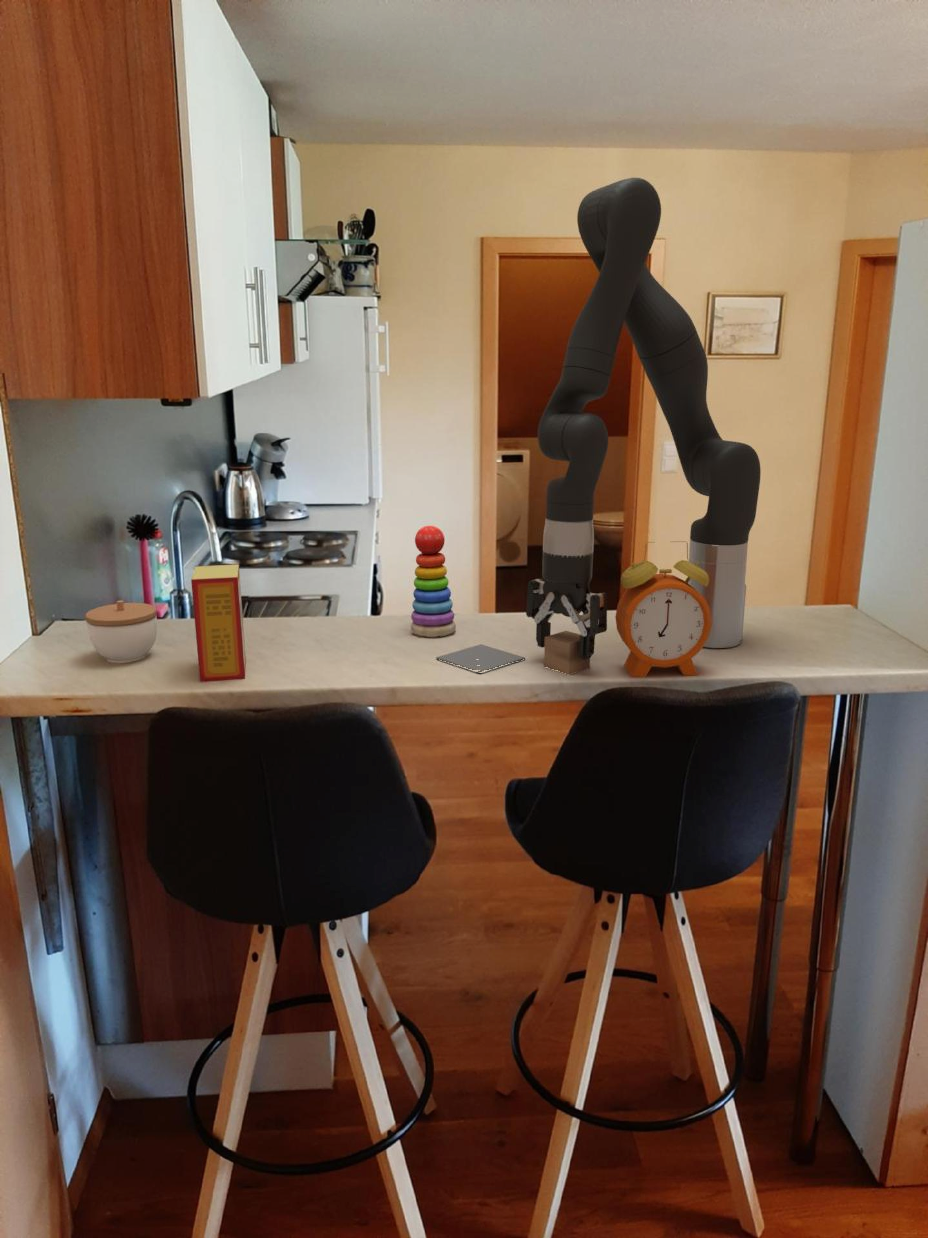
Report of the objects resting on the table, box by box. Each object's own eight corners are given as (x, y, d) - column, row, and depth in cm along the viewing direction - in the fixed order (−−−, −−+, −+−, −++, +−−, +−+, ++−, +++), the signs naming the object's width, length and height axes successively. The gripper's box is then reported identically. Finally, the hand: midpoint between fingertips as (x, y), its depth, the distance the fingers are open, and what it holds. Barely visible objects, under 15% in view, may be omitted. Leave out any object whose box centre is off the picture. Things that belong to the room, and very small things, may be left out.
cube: (565, 660, 148) (565, 630, 147) (589, 668, 145) (590, 637, 143) (544, 667, 145) (544, 637, 143) (568, 675, 141) (569, 644, 140)
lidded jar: (111, 672, 144) (104, 613, 141) (78, 658, 151) (71, 602, 148) (173, 656, 151) (168, 600, 149) (139, 643, 158) (134, 589, 156)
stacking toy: (458, 626, 167) (457, 522, 162) (453, 639, 160) (452, 530, 154) (414, 625, 168) (412, 521, 163) (407, 638, 160) (404, 530, 155)
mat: (481, 646, 155) (481, 644, 155) (525, 659, 148) (525, 657, 148) (436, 659, 149) (436, 657, 149) (479, 674, 142) (479, 671, 142)
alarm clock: (622, 678, 140) (627, 546, 134) (613, 665, 145) (618, 538, 140) (709, 676, 140) (718, 545, 135) (696, 663, 146) (704, 537, 141)
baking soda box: (203, 662, 148) (195, 563, 144) (245, 659, 149) (238, 561, 145) (200, 682, 139) (190, 577, 135) (245, 678, 140) (237, 575, 136)
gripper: (621, 552, 137) (615, 657, 142) (549, 539, 147) (546, 637, 152) (588, 559, 132) (583, 668, 137) (516, 544, 142) (513, 646, 147)
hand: (564, 652), depth 144 cm, fingers open, 8 cm apart
